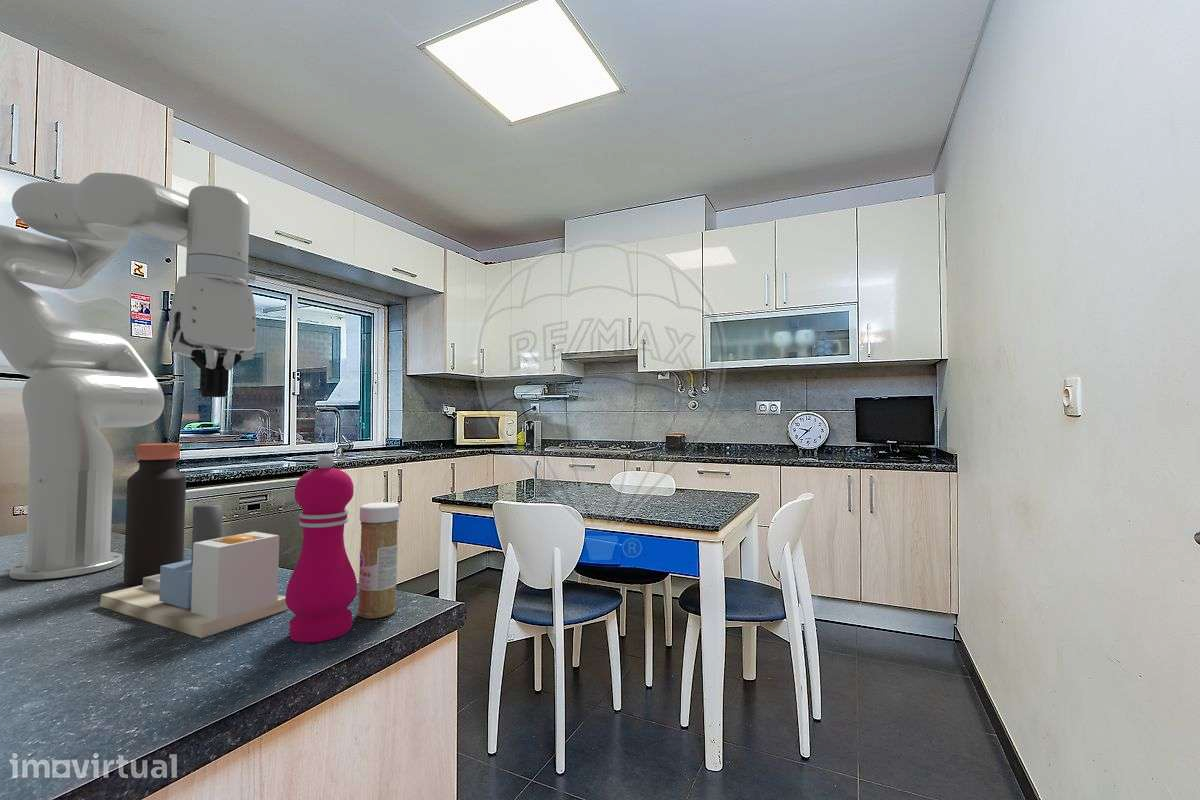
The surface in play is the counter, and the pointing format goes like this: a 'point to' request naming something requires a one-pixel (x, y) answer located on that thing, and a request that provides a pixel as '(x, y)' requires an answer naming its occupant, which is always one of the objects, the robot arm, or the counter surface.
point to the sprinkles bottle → (378, 559)
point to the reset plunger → (237, 539)
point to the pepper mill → (322, 557)
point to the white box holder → (234, 575)
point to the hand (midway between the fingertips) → (213, 396)
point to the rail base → (179, 610)
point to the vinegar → (154, 513)
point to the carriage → (180, 574)
